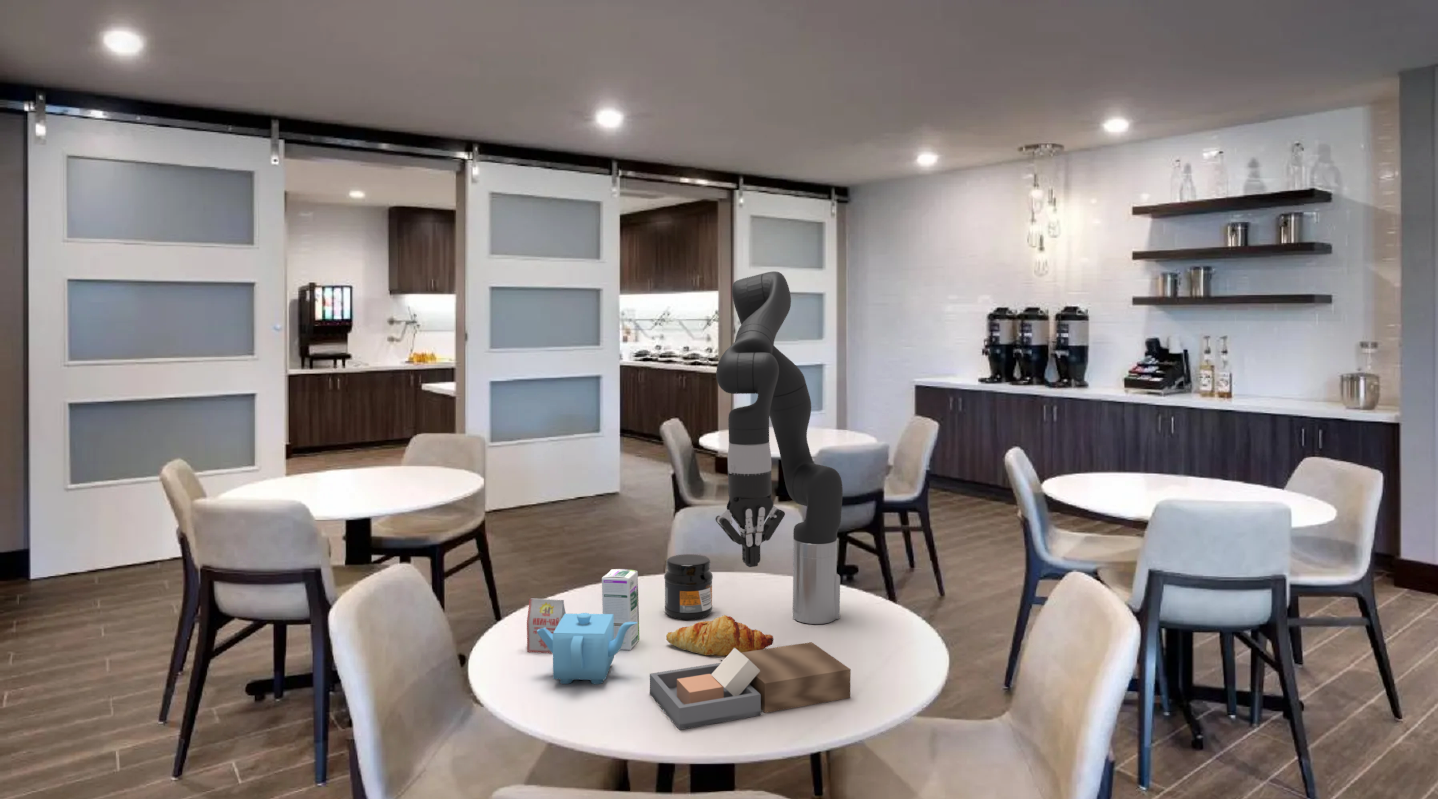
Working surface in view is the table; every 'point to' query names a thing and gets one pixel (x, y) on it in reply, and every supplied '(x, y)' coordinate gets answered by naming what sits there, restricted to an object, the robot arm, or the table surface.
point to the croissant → (719, 637)
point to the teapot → (584, 646)
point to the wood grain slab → (798, 676)
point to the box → (705, 711)
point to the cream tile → (735, 672)
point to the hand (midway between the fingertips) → (751, 565)
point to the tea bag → (542, 621)
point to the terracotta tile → (699, 689)
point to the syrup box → (622, 602)
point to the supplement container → (688, 587)
